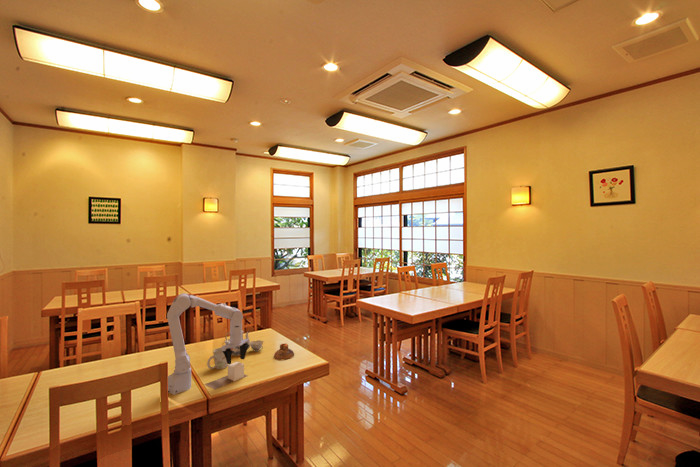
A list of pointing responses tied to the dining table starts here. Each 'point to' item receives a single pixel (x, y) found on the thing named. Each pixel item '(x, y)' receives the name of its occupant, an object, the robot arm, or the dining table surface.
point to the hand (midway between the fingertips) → (235, 361)
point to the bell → (283, 352)
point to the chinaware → (254, 344)
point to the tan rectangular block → (235, 371)
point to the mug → (218, 359)
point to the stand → (221, 382)
